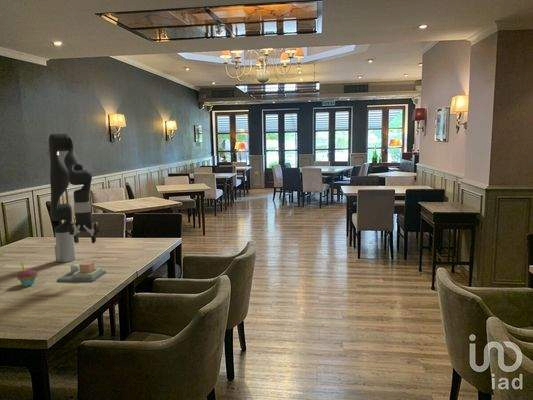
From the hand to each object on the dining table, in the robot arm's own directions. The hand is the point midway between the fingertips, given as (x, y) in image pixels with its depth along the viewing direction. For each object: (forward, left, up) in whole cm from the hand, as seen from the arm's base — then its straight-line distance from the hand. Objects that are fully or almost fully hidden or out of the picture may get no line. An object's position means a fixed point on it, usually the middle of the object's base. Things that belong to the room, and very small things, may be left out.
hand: (85, 243), depth 199 cm
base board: (-3, 0, -18) cm, 18 cm away
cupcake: (-24, -11, -18) cm, 32 cm away
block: (0, 0, -16) cm, 16 cm away
